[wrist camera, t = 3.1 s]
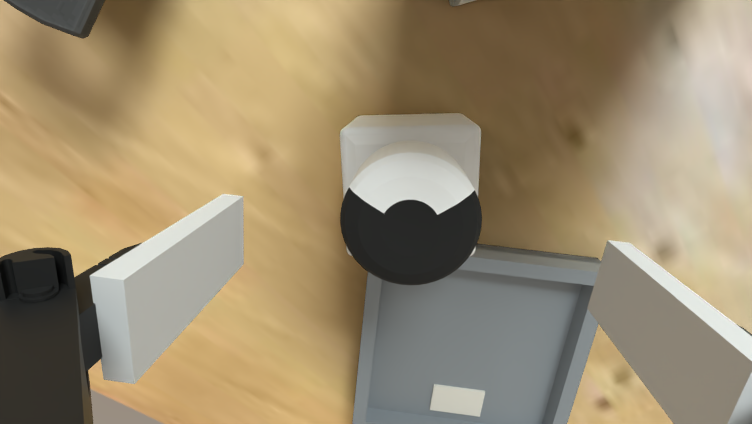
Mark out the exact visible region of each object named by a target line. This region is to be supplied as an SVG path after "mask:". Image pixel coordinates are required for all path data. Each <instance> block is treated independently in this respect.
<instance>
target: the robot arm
mask: <svg viewBox="0 0 752 424" xmlns="http://www.w3.org/2000/svg"><path fill="white" fill-rule="evenodd" d="M243 264H244V239H243V196H237V195H228V194H222V195H220V196H219V197H217V198H215V199H214V200H212V201H211V202H209V203H207V204H206V205H204V206H202V207H201V208H199V209H198V210H196V211H194V212H193V213H191V214H189V215H188V216H186V217H184V218H183V219H181V220H180V221H178V222H176V223H175V224H173V225H171V226H170V227H168V228H166V229H165V230H163V231H162V232H160V233H158V234H157V235H155V236H153V237H152V238H150V239H149V240H147V241H145V242H144V243H140V244H137V245H134V246H130V247H127V248H124V249H122V250H120V251H119V252H117V253H115V254H113V255H112V256H110V257H109V259H105V260H103V261H102V262H100V263H98V265H95V266H93V267H91V268H90V269H88V270H86V271H85V272H83V273H81V274H80V275H78V276H76V277H74V273H73V266H72V260H71V254H70V253H69V252H68V251H67V250H64V249H60V248H49V247H47V248H33V249H27V250H22V251H17V252H14V253H11V254H8V255H5V256H3V257H1V258H0V424H93V416H92V404H91V392H90V381H89V374H88V370H89V369H90V368H91V367H92V366H93V365H94V364H95V363H96V362H98V361H99V360H100V359H101V364H102V371H103V378H104V380H111V381H118V382H125V383H131V384H135V383H136V382H137V381H138V380H139V379H140V378H141V376H142V375H143V374H144V373H145V372H146V371H147V370H148V369H149V368H150V367H151V365H152V364H153V363H154V362H155V361H156V360H157V359H158V358H159V357H160V356H161V354H162V353H163V352H164V351H165V350H166V349H167V348H168V347H169V346H170V345H171V343H172V342H173V341H174V340H175V339H176V338H177V337H178V336H179V335H180V334H181V332H182V331H183V330H184V329H185V328H186V327H187V326H188V325H189V324H190V323H191V321H192V320H193V319H194V318H195V317H196V316H197V315H198V314H199V313H200V312H201V310H202V309H203V308H204V307H205V306H206V305H207V304H208V303H209V302H210V301H211V299H212V298H213V297H214V296H215V295H216V294H217V293H218V292H219V291H220V290H221V288H222V287H223V286H224V285H225V284H226V283H227V282H228V281H229V280H230V279H231V277H232V276H233V275H234V274H235V273H236V272H237V271H238V270H239V269H240V268H241V266H242V265H243ZM587 309H588V310H589V312H590V313H591V314H592V316H593V317H594V318H595V320H596V321H597V322H598V324H599V325H600V326H601V327H602V329H603V330H604V331H605V333H606V334H607V335H608V337H609V338H610V339H611V341H612V342H613V343H614V345H615V346H616V347H617V349H618V350H619V351H620V353H621V354H622V355H623V357H624V358H625V359H626V361H627V362H628V363H629V365H630V366H631V367H632V369H633V370H634V371H635V373H636V374H637V375H638V377H639V378H640V379H641V381H642V382H643V383H644V385H645V386H646V387H647V389H648V390H649V391H650V393H651V394H652V395H653V397H654V398H655V399H656V401H657V402H658V403H659V405H660V406H661V407H662V409H663V410H664V411H665V413H666V414H667V415H668V417H669V418H670V419H671V421H672V422H673V423H674V424H752V334H750V333H749V332H748V331H746V330H745V329H744V328H742V327H740V326H739V325H737V324H735V323H734V322H732V321H731V320H730V319H729V318H727V317H726V316H725V315H723V314H722V313H721V312H719V311H718V310H717V309H715V308H714V307H713V306H712V305H710V304H709V303H708V302H706V301H705V300H704V299H702V298H701V297H700V296H698V295H697V294H696V293H695V292H693V291H692V290H691V289H689V288H688V287H687V286H685V285H684V284H683V283H681V282H680V281H679V280H678V279H676V278H675V277H674V276H672V275H671V274H670V273H668V272H667V271H666V270H665V269H663V268H662V267H661V266H659V265H658V264H657V263H655V262H654V261H653V260H651V259H650V258H649V257H648V256H646V255H645V254H644V253H642V252H641V251H640V250H638V249H637V248H636V247H634V246H633V245H632V244H631V243H626V242H618V241H610V240H607V244H606V247H605V250H604V254H603V257H602V260H601V264H600V267H599V270H598V274H597V277H596V281H595V284H594V287H593V291H592V294H591V297H590V301H589V304H588V307H587Z"/></svg>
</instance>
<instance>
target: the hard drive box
mask: <svg viewBox="0 0 752 424" xmlns="http://www.w3.org/2000/svg"><path fill="white" fill-rule="evenodd" d="M472 1H476V0H449V3H450V5H451V6H458V5H462V4H465V3H469V2H472Z"/></svg>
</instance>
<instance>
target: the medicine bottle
mask: <svg viewBox="0 0 752 424" xmlns="http://www.w3.org/2000/svg"><path fill="white" fill-rule="evenodd" d="M480 145H481V129H480V127H479V126H478V125H477V124H475V123H474V122H473V121H471V120H470V119H469V118H467V117H466V116H465V115H463V114H461V113H438V114H399V115H360V116H357V117H356V118H355V119H354V120H353V121H351V122H350V123H349V124H348V125H346V126H345V127H344V128H343V129H342V130H341V131H340V147H341V164H342V181H343V199H344V200H343V203H342V208H341V220H340V223H341V230H342V235H343V238H344V241H345V243H346V249H347V252H348V254H349V255H351V256H353V257H354V259H355V260H356V261H357V262H358V263H359V264H360V265H361V266H362V267H363V268H364V269H365V270H367V271H368V272H370V273H371V274H372V275H374V276H376V277H378V278H380V279H382V280H385V281H388V282H391V283H395V284H400V285H422V284H428V283H431V282H435V281H438V280H440V279H442V278H445V277H446V276H448V275H450V274H451V273H453V272H454V271H456V270H457V269H458V268H459V267H460V266H461V265H462V264H463V263H464V262H465V261H466V260H467V259H468V258H469V256H472V255H473V254H474V253H475V250H476V244H477V241H478V239H479V236H480V231H481V224H482V214H481V207H480V203H479V199H478V188H479V167H480Z"/></svg>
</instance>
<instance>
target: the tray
mask: <svg viewBox="0 0 752 424" xmlns="http://www.w3.org/2000/svg"><path fill="white" fill-rule="evenodd" d="M600 264H601V261H600V260H599V259H598V258H592V257H584V256H575V255H567V254H559V253H550V252H542V251H533V250H525V249H517V248H508V247H500V246H492V245H483V244H476V250H475V253H474V254H473V255H472V256H469V258H468V259H467V260H466V261H465V262H464V263H463V264H462V265H461V266H460V267H459V268H458V269H457V270H456V271H454V272H453V273H451V274H450V275H448V276H446V277H445V278H442V279H440V280H438V281H435V282H431V283H428V284H422V285H400V284H395V283H391V282H388V281H385V280H382V279H380V278H378V277H376V276H374V275H372V274H371V273H370V272H368V276H367V286H366V296H365V305H364V315H363V325H362V335H361V345H360V354H359V364H358V374H357V384H356V394H355V404H354V413H353V423H352V424H567V422H568V419H569V416H570V412H571V409H572V406H573V403H574V400H575V397H576V393H577V390H578V387H579V384H580V381H581V377H582V374H583V371H584V368H585V365H586V362H587V358H588V355H589V352H590V349H591V346H592V343H593V339H594V336H595V333H596V330H597V327H598V322H597V321H596V320H595V318H594V317H593V316H592V314H591V313H590V312H589V310H588V309H587V307H588V304H589V301H590V297H591V294H592V291H593V287H594V284H595V281H596V277H597V274H598V270H599V267H600Z"/></svg>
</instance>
